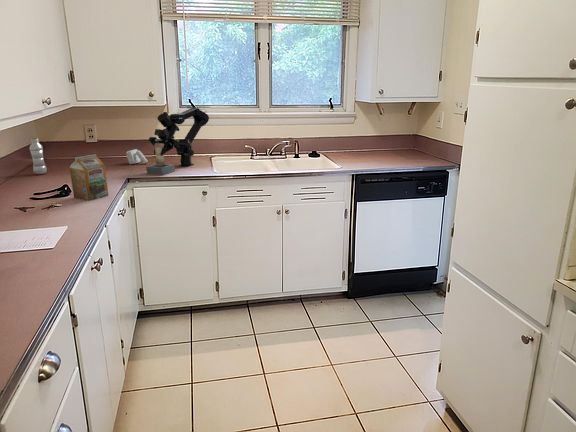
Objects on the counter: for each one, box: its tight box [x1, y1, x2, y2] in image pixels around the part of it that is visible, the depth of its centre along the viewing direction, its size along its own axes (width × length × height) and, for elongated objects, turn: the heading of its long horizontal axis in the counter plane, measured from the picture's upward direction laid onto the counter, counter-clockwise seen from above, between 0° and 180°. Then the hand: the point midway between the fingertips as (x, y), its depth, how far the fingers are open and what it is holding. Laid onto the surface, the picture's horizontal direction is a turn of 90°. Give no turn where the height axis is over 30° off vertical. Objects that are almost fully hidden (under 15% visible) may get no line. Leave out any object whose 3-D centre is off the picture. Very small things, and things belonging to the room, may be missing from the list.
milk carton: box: [69, 153, 109, 202], centre depth 204 cm, size 11×11×19 cm
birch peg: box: [154, 143, 165, 166], centre depth 254 cm, size 4×4×12 cm
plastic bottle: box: [29, 137, 48, 175], centre depth 249 cm, size 6×7×20 cm
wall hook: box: [125, 148, 149, 165], centre depth 280 cm, size 8×10×10 cm
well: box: [146, 163, 176, 176], centre depth 256 cm, size 11×11×4 cm
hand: (157, 154), depth 253 cm, fingers closed on birch peg, 4 cm apart
